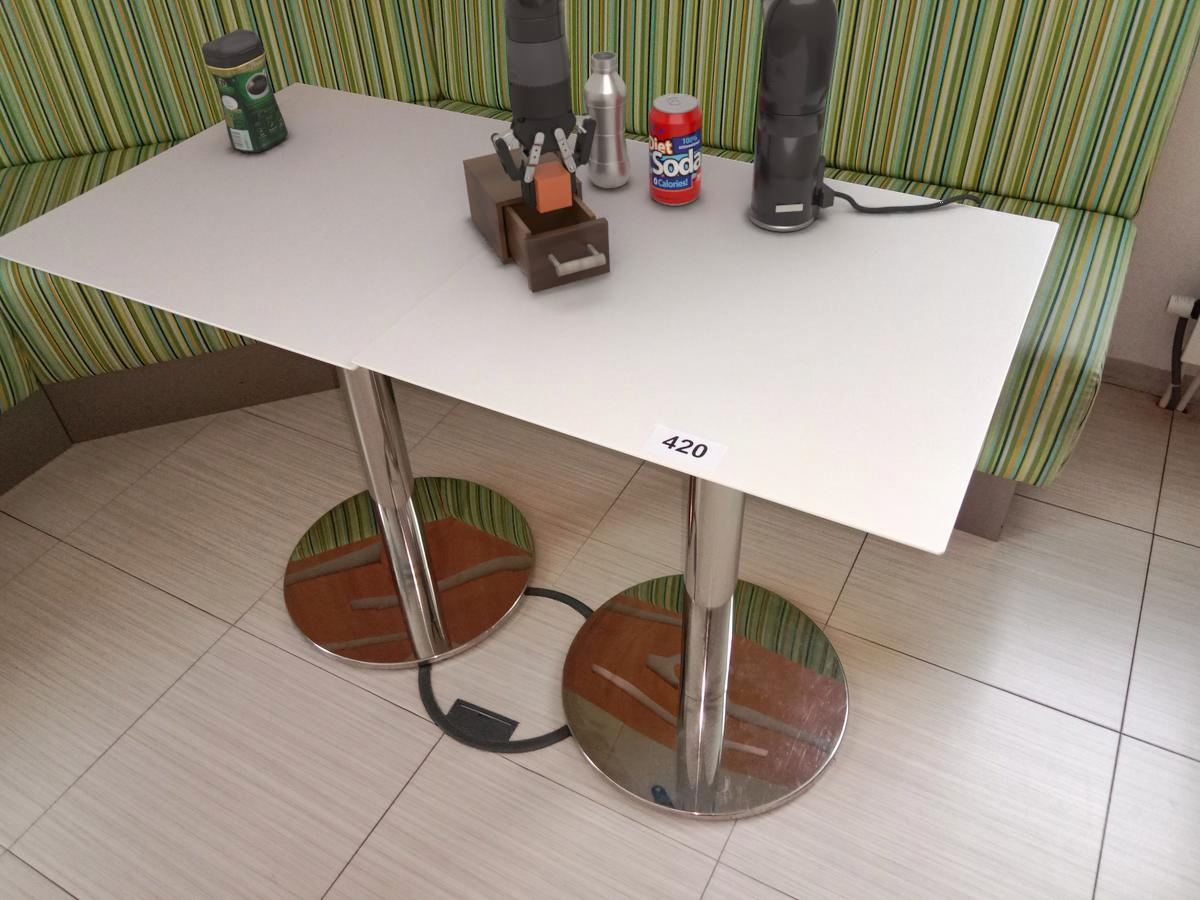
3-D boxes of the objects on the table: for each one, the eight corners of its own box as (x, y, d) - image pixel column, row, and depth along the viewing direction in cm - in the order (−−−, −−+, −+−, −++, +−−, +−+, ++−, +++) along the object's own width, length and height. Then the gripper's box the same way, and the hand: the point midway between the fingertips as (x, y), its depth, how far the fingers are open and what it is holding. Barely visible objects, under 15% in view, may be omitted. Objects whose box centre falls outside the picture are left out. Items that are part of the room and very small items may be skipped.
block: (559, 191, 131) (557, 160, 128) (572, 205, 128) (570, 173, 125) (528, 198, 130) (525, 167, 127) (540, 213, 127) (537, 181, 124)
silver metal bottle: (627, 194, 151) (623, 64, 137) (584, 192, 152) (576, 63, 138) (634, 175, 155) (631, 48, 142) (593, 173, 156) (586, 47, 143)
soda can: (691, 182, 153) (693, 87, 143) (707, 205, 147) (710, 108, 137) (643, 189, 151) (641, 95, 141) (657, 213, 146) (657, 116, 136)
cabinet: (585, 243, 140) (581, 181, 134) (503, 264, 137) (495, 202, 130) (548, 201, 150) (543, 141, 144) (471, 220, 147) (462, 160, 140)
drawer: (624, 288, 129) (622, 236, 124) (544, 310, 126) (539, 258, 121) (572, 228, 142) (569, 179, 136) (499, 247, 138) (492, 197, 133)
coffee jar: (264, 128, 176) (233, 22, 163) (296, 136, 172) (267, 28, 160) (224, 149, 170) (189, 41, 157) (256, 158, 166) (223, 48, 154)
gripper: (581, 50, 122) (588, 177, 133) (473, 72, 118) (490, 200, 129) (605, 70, 117) (610, 200, 128) (493, 93, 113) (508, 225, 124)
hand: (549, 199), depth 129 cm, fingers closed on block, 4 cm apart
